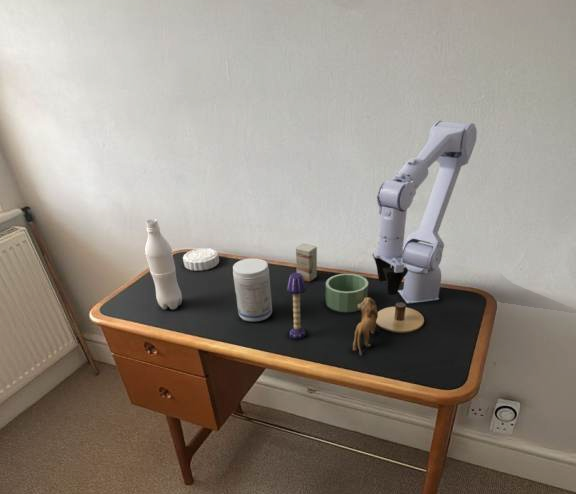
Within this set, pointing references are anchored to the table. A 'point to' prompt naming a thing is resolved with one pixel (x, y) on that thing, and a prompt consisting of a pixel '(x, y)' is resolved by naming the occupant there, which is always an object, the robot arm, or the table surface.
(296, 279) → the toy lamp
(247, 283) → the supplement tub
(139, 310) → the table surface
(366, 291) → the canister
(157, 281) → the water bottle
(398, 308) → the lid
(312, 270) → the beige rectangular box
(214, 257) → the mooncake
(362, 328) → the lion figurine
